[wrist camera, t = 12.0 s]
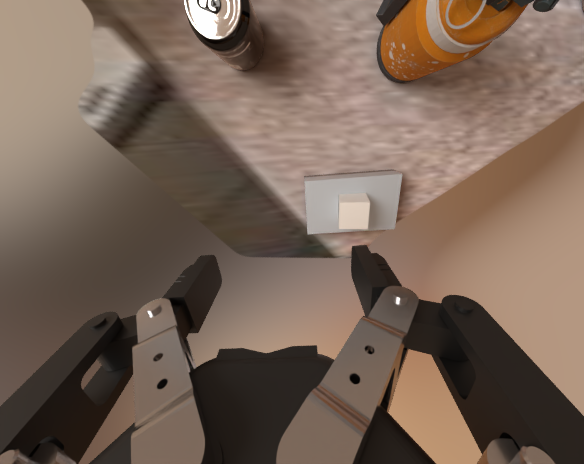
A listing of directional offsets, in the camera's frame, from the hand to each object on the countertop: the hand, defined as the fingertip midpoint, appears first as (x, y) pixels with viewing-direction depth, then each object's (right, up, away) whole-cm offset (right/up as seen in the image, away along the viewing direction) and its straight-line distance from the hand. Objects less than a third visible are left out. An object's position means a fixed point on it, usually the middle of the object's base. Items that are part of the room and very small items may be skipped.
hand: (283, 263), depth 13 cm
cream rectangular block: (+12, +8, +28) cm, 31 cm away
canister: (+16, +29, +19) cm, 38 cm away
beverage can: (-7, +30, +19) cm, 36 cm away
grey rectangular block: (+11, +8, +29) cm, 32 cm away
